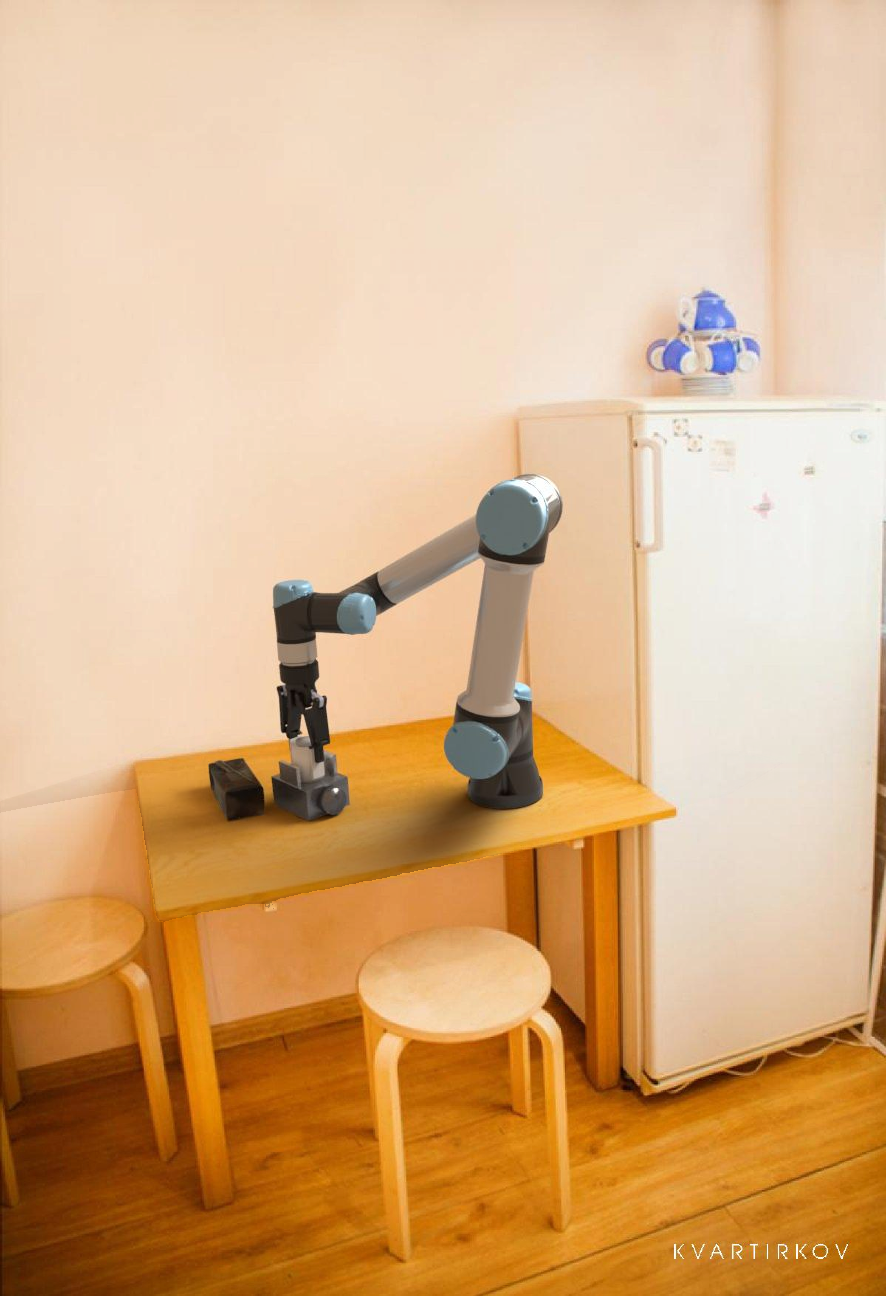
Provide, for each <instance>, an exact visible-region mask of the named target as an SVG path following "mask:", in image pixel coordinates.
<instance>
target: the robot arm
mask: <svg viewBox="0 0 886 1296" xmlns="http://www.w3.org/2000/svg"><path fill="white" fill-rule="evenodd" d="M560 492H561V491H559V489H558V487H557V486H556V484H554V482H552V480H550V479H549V478H547V477H545V476H543V475H540V474H535V473H526V474H521V475H518V476H516V477H514V478H511V479H507V480H504V481H501V482H498V483H497V484H496V485H494V486H493V487H491V488H490V489H489V490H488V491H487V492H486V494H484V496H483V497H482V499H481V500H480V502H479V503H478V507H477V510H476V513H475V514H473V515H472V516H471V517H469V518H467V519H465V520H464V521H462V522H461V523H459V524H456V525H455V526H454V527H451V528H450V529H448V530H447V531H445V532H443V533H441V534H440V535H438V536H436V537H434V538H432V539H431V540H430V541H427V542H426V543H424V544H423V545H421V546H419V547H417V548H415V549H414V550H412V551H410V552H409V553H407V554H405V555H403V556H402V557H401V558H398V559H397V560H395V561H393V562H392V563H389V564H387V565H386V566H385V567H383V568H381V569H380V570H379V571H376V572H374V573H373V574H370V575H369V576H367V577H365V578H363V579H362V580H360V581H359V582H357V583H355V584H353V585H351V586H349V587H347V588H346V589H343V590H341V591H339V592H334V593H333V592H329V593H328V592H314V589H313V585H312V583H311V582H310V580H304V579H292V580H291V579H290V580H289V579H288V580H283V581H280V582H278V583H276V584H275V585H274V586H273V589H272V601H273V602H272V604H273V606H272V609H273V614H274V615H273V616H274V622H275V624H274V625H275V630H276V632H275V633H276V647H277V658H278V659H277V660H278V662H279V664H278V668H279V679H280V681H281V682H282V684H281V685H277V686H276V692H277V696H278V705H279V706H278V707H279V721H280V723H279V724H280V732H281V733H282V734H285V736H286V738H287V739H288V745H289V746H288V747H289V752H290V762H291V763H290V764H292V753H291V743H292V742H294V741H296V739H297V738H300V737H303V736H302V735H303V731H302V730H301V726H302V725H301V722H302V716H303V719H304V723H305V726H306V727H305V728H306V730H307V733H308V735H307V736H309V738H310V742H311V746H308V747H309V756H310V768H311V778H312V779H316V778H319V777H321V776H324V775H325V771H324V750H325V749H324V746H327V745H330V744H331V737H330V729H329V719H328V712H327V704H328V702H327V701H328V697H327V696H326V695H319V694H318V690H317V687H316V682H317V681H318V680H319V678H320V666H319V661H318V659H317V658H318V648H317V647H318V646H317V640H316V639H317V633H323V634H324V633H325V634H339V635H340V634H343V635H344V634H345V635H351V636H353V635H354V636H355V635H367V634H369V633H370V632H371V631H372V630H373V628H374V626H375V624H376V621H377V620H376V619H377V616H380V615H381V614H383V613H385V612H386V611H388V610H389V609H391V608H393V607H395V606H397V605H398V604H399V603H402V602H404V601H406V600H408V599H410V598H411V597H412V596H413V597H414V595H417V594H418V593H420V592H422V591H424V590H425V589H427V588H429V587H431V586H433V585H434V584H436V583H438V582H440V581H441V580H443V579H446V578H448V577H449V576H451V575H452V574H455V573H456V572H458V571H460V570H462V569H463V568H465V567H467V566H469V565H471V564H472V563H474V562H476V561H478V560H480V559H481V561H483V563H484V568H483V575H482V581H481V589H480V590H481V591H480V596H479V602H478V609H477V615H476V624H475V631H474V635H473V636H474V637H473V644H472V652H471V655H470V656H471V658H470V664H469V671H468V678H467V684H466V689H465V690H464V691H463V692H461V693H459V694H458V695H457V697H456V704H455V709H454V716H453V723H452V726H450V728H449V729H448V730H447V731H446V735H445V736H444V737H445V738H444V741H443V752H444V755H445V757H446V760H447V762H449V764H450V765H451V766H452V767H453V769H454V771H456V772H458V773H459V774H460V775H463V776H465V777H467V778H469V779H468V782H467V797H468V798H469V800H470V801H472V803H475V804H476V805H479V806H482V807H486V808H491V809H501V810H503V809H516V808H517V809H518V808H521V807H526V806H529V805H532V804H534V803H536V802H538V801H539V800H540V799H542V797H543V796H544V782H543V779H542V777H541V776H540V772H539V769H538V766H537V763H536V760H535V758H534V733H533V732H534V731H533V702H534V701H533V697H532V690H531V688H530V686H528V685H527V684H525V683H522V682H519V681H518V682H517V675H518V670H519V664H520V658H521V651H522V645H523V642H524V641H523V640H524V633H525V627H526V622H527V616H528V609H529V602H530V596H531V591H532V584H533V578H534V573H535V570H537V569H538V568H540V567H541V566H542V565H544V564H545V561H546V553H547V547H548V543H549V542H548V541H549V537H550V536H549V535H550V533H552V531H554V529H555V528H556V527H557V526H558V524H559V522H560V520H561V518H562V514H563V507H564V504H563V498H562V496H561V493H560ZM292 765H293V764H292Z"/></svg>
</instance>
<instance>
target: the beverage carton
mask: <svg viewBox="0 0 886 1296" xmlns="http://www.w3.org/2000/svg"><path fill="white" fill-rule="evenodd" d="M207 767H208V776H209V784H210V789H211V791H212V793H213V795H214V797H215V799H216V801H217V803H218V805H219V807H220V810H221V811H222V813H223V816H224V817H225V819H226V821H227V822H230V821H234V820H235V821H236V820H241V819H245V818H252V817H257V816H263V815H265V813H266V806H265V805H266V803H265V802H266V801H265V789H264V787H263V786H262V784H261V782H260V781H259V779H258V778H257V776H256V775H255V773H254V772H253V771H252V769H251V768H250V766H249V765H248V763H247V762H246V760H245V759H244V758H241V757H239V758H234V759H228V760H221V759H218V760H215V762H211V763H208V766H207Z"/></svg>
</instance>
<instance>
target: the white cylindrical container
mask: <svg viewBox="0 0 886 1296" xmlns="http://www.w3.org/2000/svg"><path fill="white" fill-rule="evenodd" d="M308 746H311V742H310V738H309V735H306V736H302V737H300V738H297V739H296V741H294V742H292V743H291V753H292V764H293V765H295V766H297V767H300V777H301V782H305V783H306V782H314V781H318V780H320V779H322V778H323V777H324V776H321V777H319V778H316V779H312V778H311V768H310V756H309V747H308Z"/></svg>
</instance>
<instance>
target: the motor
mask: <svg viewBox="0 0 886 1296" xmlns="http://www.w3.org/2000/svg"><path fill="white" fill-rule="evenodd" d="M323 750H324V771H325V775H324V777H323V778H322V779H320V780H318V781H314V782H306V783H305V782H301V777H300V767H297V766H295V765H292V764H291V763H290V762H287V761H285V760H282V759H281V760H279V761H278V767H279V773H278V774H274V775H272V776H271V777H270V778H271V788H272V796H273V804H274V805H275V806H277V807H278V808H281V809H282V810H285V811H287V812H289V813H291V814H294V815H295V816H298V817H299V818H301V819H304V820H306V821H307V822H310V821H313V820H315V819H317V818H321V817H322V816H325V815H331V816H335V815H338V814H340V813H342V811H343V810H344V808H345V807H347V806H350V803H351V802H350V791H349V777H348V776H347V775H345V774H342V773H339V772H338V761H337V754H336V753H333V752H330V751H327V750H325V749H323Z"/></svg>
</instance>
